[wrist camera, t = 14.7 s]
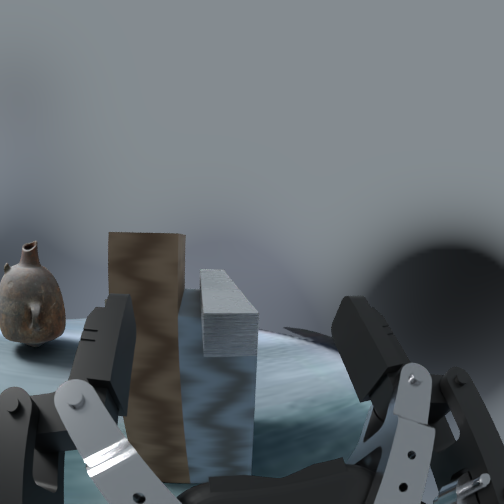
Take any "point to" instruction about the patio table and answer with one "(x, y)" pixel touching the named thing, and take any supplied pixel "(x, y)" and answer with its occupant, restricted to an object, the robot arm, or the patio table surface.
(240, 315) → the aluminium bar
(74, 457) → the patio table surface
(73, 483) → the patio table surface
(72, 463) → the patio table surface
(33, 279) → the jug
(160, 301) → the display riser
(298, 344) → the patio table surface
